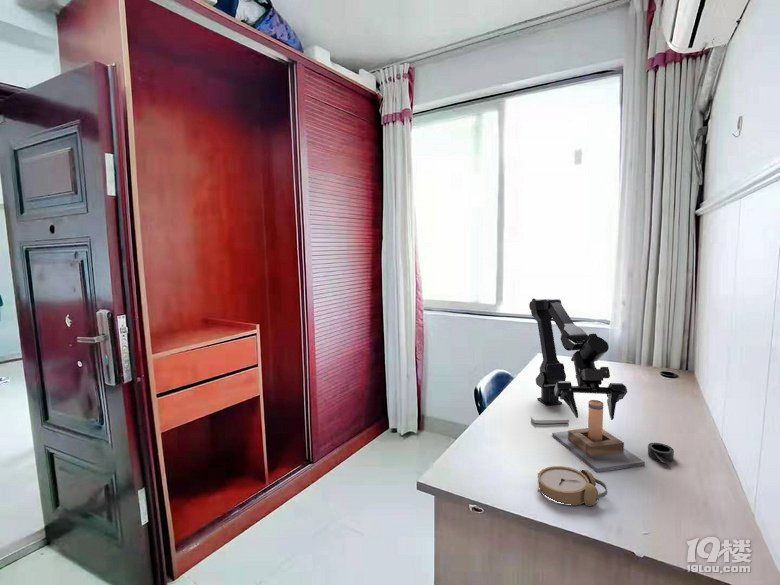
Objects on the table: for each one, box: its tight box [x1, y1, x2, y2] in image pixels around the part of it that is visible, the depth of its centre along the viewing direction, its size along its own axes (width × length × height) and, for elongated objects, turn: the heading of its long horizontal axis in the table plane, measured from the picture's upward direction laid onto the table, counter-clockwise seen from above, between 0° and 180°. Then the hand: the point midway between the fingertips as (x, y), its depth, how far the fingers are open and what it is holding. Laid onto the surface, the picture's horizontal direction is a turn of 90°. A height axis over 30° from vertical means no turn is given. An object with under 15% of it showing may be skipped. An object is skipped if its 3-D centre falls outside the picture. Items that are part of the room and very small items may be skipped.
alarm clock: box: [537, 465, 608, 507], centre depth 93 cm, size 11×5×15 cm
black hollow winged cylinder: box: [647, 442, 675, 466], centre depth 107 cm, size 8×10×3 cm
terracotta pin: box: [587, 399, 604, 442], centre depth 111 cm, size 4×4×13 cm
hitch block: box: [551, 427, 646, 473], centre depth 112 cm, size 20×14×4 cm
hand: (594, 418), depth 111 cm, fingers open, 9 cm apart
